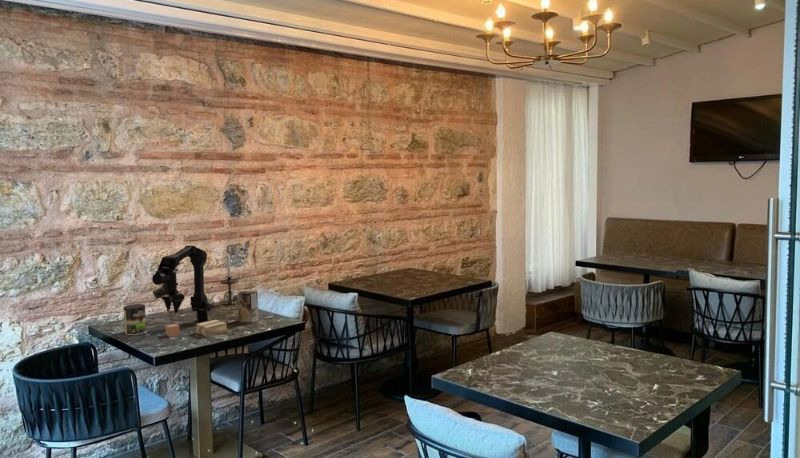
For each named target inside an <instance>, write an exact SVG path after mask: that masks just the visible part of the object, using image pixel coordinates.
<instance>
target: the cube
mask: <svg viewBox="0 0 800 458" xmlns="http://www.w3.org/2000/svg"><path fill="white" fill-rule="evenodd" d="M180 329H181V328H180V325H179V324H177V323H173V324H168V325H165V336H167V337H169V338H172V337H177V336H180V335H181V331H180Z"/></svg>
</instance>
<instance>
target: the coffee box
mask: <svg viewBox="0 0 800 458" xmlns="http://www.w3.org/2000/svg"><path fill="white" fill-rule="evenodd" d="M258 299H259V296H258V291H253V290H250V291H249V290H242V291H240V292H237V301H238V305H237V306H238V320H239V322H243V323H255V322H257V321H259V319H260V318H259V317H260V316H259V303H258V302H259V300H258Z"/></svg>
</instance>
